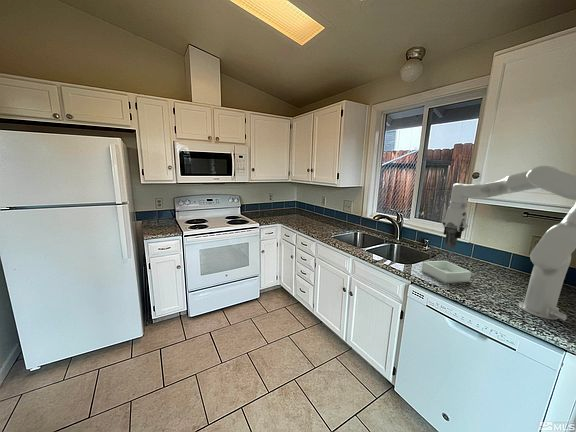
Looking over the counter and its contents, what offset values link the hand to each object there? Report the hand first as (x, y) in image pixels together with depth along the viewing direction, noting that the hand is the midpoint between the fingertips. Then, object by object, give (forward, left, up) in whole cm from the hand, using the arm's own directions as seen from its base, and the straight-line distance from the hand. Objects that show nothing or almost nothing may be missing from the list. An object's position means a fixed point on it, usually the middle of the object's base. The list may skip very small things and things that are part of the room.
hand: (451, 235), depth 135 cm
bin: (0, 0, -25) cm, 25 cm away
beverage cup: (0, 0, -7) cm, 7 cm away
